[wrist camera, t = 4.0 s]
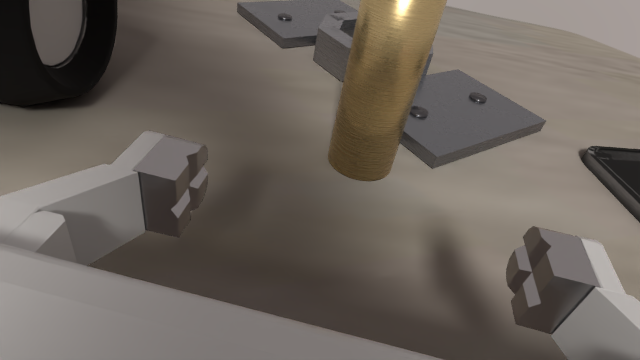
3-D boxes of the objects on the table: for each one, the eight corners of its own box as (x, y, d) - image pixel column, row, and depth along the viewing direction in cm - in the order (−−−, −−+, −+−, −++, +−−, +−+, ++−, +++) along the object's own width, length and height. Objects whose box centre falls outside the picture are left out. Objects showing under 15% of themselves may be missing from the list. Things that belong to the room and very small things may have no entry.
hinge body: (237, 11, 38) (238, -18, 37) (335, 6, 44) (339, -19, 43) (432, 168, 24) (447, 130, 22) (540, 130, 30) (558, 98, 28)
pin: (304, 147, 24) (352, -141, 16) (365, 131, 26) (433, -126, 18) (352, 195, 21) (438, -119, 13) (415, 173, 23) (521, -105, 15)
